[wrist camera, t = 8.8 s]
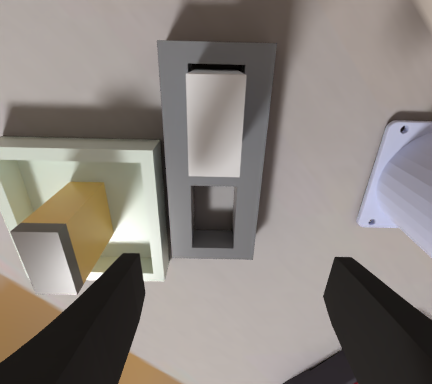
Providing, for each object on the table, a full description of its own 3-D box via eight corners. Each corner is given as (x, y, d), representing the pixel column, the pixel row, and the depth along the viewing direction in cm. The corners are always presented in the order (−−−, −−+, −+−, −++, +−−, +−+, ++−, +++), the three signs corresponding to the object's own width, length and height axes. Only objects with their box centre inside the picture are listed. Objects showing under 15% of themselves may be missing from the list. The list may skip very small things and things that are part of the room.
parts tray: (160, 139, 18) (152, 150, 16) (169, 261, 22) (164, 281, 20) (1, 136, 18) (-27, 146, 16) (45, 258, 22) (27, 278, 20)
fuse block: (269, 45, 15) (276, 43, 13) (249, 241, 21) (252, 259, 19) (164, 42, 15) (156, 40, 13) (176, 239, 21) (172, 257, 19)
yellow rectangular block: (103, 182, 18) (57, 232, 13) (113, 233, 20) (77, 294, 15) (69, 181, 18) (10, 231, 13) (83, 232, 20) (35, 293, 15)
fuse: (236, 69, 16) (246, 75, 10) (232, 141, 18) (239, 177, 12) (196, 68, 16) (185, 73, 10) (197, 140, 18) (188, 176, 12)
